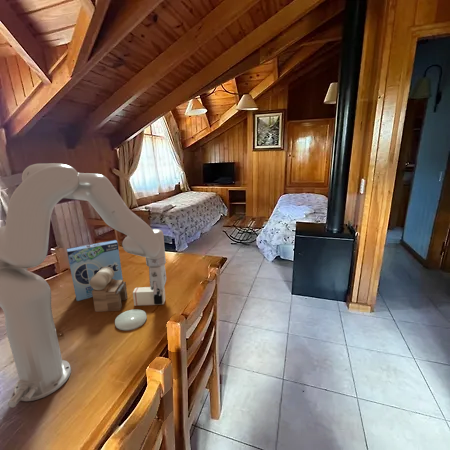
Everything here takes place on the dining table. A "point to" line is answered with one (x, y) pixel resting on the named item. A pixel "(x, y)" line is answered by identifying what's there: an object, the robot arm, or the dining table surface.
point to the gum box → (92, 265)
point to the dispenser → (107, 290)
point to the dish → (130, 319)
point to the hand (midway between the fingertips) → (159, 300)
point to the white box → (146, 296)
